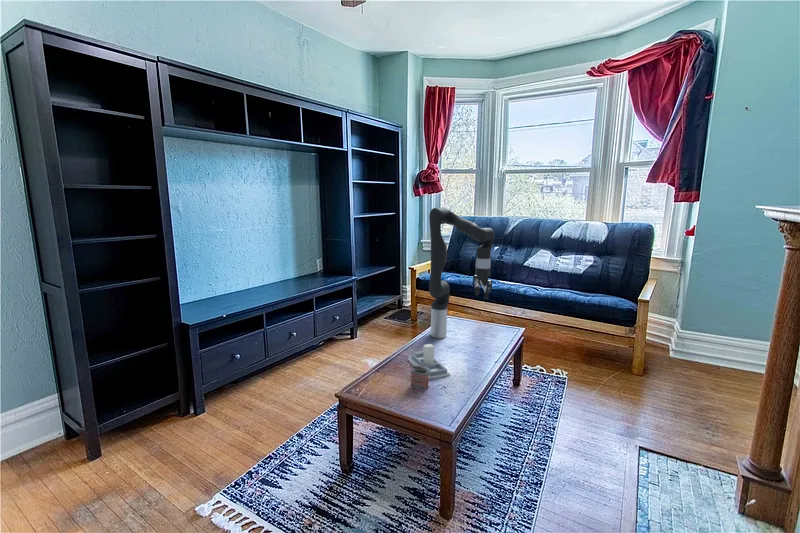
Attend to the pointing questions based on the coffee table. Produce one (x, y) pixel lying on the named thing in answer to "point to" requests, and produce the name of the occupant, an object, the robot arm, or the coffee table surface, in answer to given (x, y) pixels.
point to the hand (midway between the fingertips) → (481, 297)
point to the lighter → (419, 377)
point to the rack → (429, 366)
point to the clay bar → (428, 354)
